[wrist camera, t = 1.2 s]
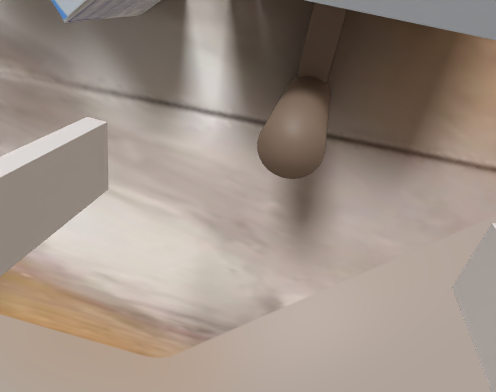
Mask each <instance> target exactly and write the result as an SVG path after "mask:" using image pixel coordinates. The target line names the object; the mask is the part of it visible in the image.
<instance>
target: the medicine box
mask: <svg viewBox="0 0 496 392" xmlns="http://www.w3.org/2000/svg"><path fill="white" fill-rule="evenodd" d="M51 1H52V3H53V4H54V6H55V7H56V9H57V11H58V12H59V14H60V15H61V17H62V19H63V21H64V22H65V23H72V22H79V21H89V20H99V19H108V18H117V17H130V16H139V15H141V14H143V13H144V12H145V11H147V10H148V9H150V8H151V7H153V6H154V5H156V4H157V3H158V2H160V1H161V0H51Z"/></svg>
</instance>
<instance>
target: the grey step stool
mask: <svg viewBox="0 0 496 392" xmlns="http://www.w3.org/2000/svg"><path fill="white" fill-rule="evenodd" d="M306 1H310V2H315V3H320V4H325V5H330V6H334V7H339V8H344V9H349V10H354V11H358V12H363V13H368V14H373V15H377V16H382V17H387V18H392V19H397V20H401V21H406V22H411V23H416V24H420V25H425V26H430V27H435V28H440V29H444V30H449V31H454V32H459V33H464V34H468V35H473V36H478V37H483V38H487V39H492V40H496V0H306Z"/></svg>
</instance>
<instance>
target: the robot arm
mask: <svg viewBox="0 0 496 392" xmlns="http://www.w3.org/2000/svg"><path fill="white" fill-rule="evenodd" d="M107 190H108V149H107V122H105V121H101V120H97V119H94V118H90V117H86V118H83V119H81V120H79V121H77V122H75V123H73V124H70V125H68V126H66V127H64V128H62V129H60V130H57V131H55V132H53V133H51V134H49V135H46V136H44V137H42V138H40V139H38V140H36V141H33V142H31V143H29V144H27V145H25V146H22V147H20V148H18V149H16V150H14V151H12V152H9V153H7V154H5V155H3V156H1V157H0V276H1V275H3V274H4V273H5V272H6V271H7V270H9V269H10V268H11V267H12V266H14V265H15V264H16V263H17V262H19V261H20V260H21V259H22V258H24V257H25V256H26V255H27V254H29V253H30V252H31V251H32V250H33V249H35V248H36V247H37V246H38V245H40V244H41V243H42V242H43V241H45V240H46V239H47V238H48V237H50V236H51V235H52V234H53V233H55V232H56V231H57V230H58V229H60V228H61V227H62V226H63V225H64V224H66V223H67V222H68V221H69V220H71V219H72V218H73V217H74V216H76V215H77V214H78V213H79V212H81V211H82V210H83V209H84V208H86V207H87V206H88V205H89V204H91V203H92V202H93V201H94V200H95V199H97V198H98V197H99V196H100V195H102V194H103V193H104V192H105V191H107ZM452 288H453V291H454V294H455V296H456V299H457V302H458V304H459V307H460V310H461V312H462V315H463V317H464V320H465V323H466V326H467V328H468V331H469V334H470V336H471V339H472V341H473V344H474V347H475V350H476V352H477V355H478V358H479V360H480V363H481V366H482V368H483V371H484V373H485V376H486V379H487V382H488V384H489V387H490V389H491V392H496V224H494V223H492V224H491V226H490V227H489V229H488V230H487V232H486V234H485V235H484V237H483V238H482V240H481V242H480V243H479V245H478V246H477V248H476V250H475V251H474V253H473V255H472V256H471V258H470V259H469V261H468V262H467V264H466V265H465V267H464V269H463V270H462V272H461V274H460V275H459V277H458V278H457V280H456V281H455V283H454V285H453V286H452Z"/></svg>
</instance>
